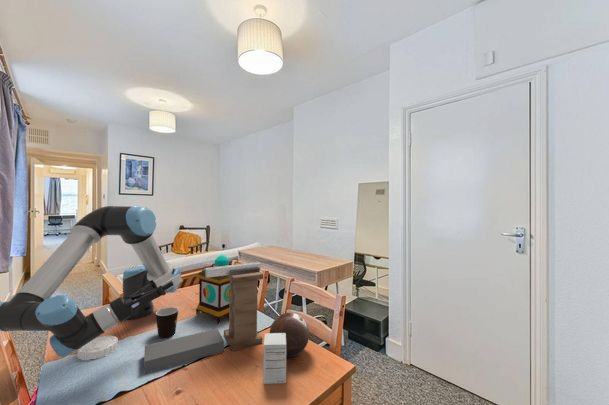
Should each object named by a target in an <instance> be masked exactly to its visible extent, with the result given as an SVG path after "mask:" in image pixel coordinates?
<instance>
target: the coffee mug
mask: <svg viewBox="0 0 609 405" xmlns="http://www.w3.org/2000/svg"><path fill="white" fill-rule="evenodd" d="M178 315H179V308H178V307H174V306H171V307H170V306H168V307H164V308H163V307H162V308H160V309H158V310H157V311H156V312H155V318H156V320H155V321H156V327H157V336H158V338H159V339H164V338H165V339H169V338H172V337H173V336H175V335H174V334H176V330H177V323H178Z"/></svg>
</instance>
